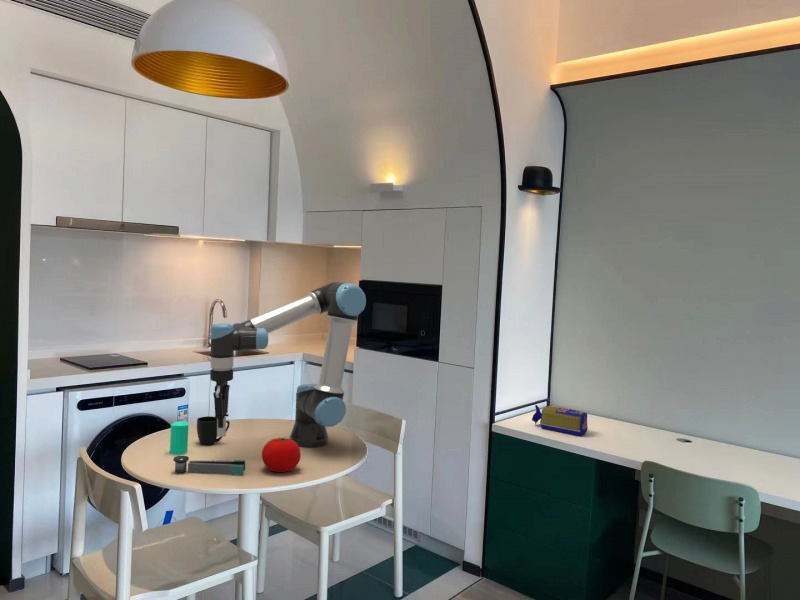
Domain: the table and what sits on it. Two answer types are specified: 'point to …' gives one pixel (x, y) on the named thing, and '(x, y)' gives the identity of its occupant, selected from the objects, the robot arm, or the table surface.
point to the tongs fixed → (206, 467)
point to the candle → (179, 438)
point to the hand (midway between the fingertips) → (221, 435)
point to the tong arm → (222, 462)
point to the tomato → (281, 454)
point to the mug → (208, 430)
